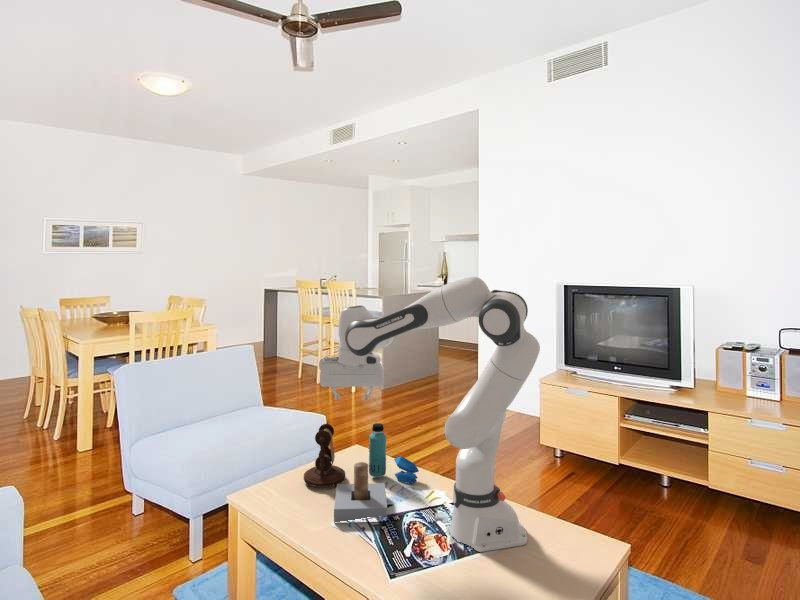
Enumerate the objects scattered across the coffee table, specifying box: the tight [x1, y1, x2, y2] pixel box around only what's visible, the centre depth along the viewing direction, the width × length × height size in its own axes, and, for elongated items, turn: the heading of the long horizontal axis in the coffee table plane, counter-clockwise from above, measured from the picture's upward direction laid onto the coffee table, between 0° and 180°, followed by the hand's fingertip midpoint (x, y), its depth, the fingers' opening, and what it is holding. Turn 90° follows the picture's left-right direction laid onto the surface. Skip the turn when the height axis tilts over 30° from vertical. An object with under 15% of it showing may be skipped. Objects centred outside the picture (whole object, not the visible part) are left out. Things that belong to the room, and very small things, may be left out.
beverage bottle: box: [368, 422, 387, 478], centre depth 173 cm, size 6×7×20 cm
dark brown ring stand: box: [303, 423, 346, 489], centre depth 169 cm, size 15×15×20 cm
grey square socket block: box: [333, 482, 388, 524], centre depth 151 cm, size 16×16×4 cm
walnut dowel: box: [353, 461, 369, 500], centre depth 151 cm, size 4×4×14 cm
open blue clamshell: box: [393, 456, 420, 484], centre depth 171 cm, size 7×8×11 cm
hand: (352, 399), depth 150 cm, fingers open, 8 cm apart
